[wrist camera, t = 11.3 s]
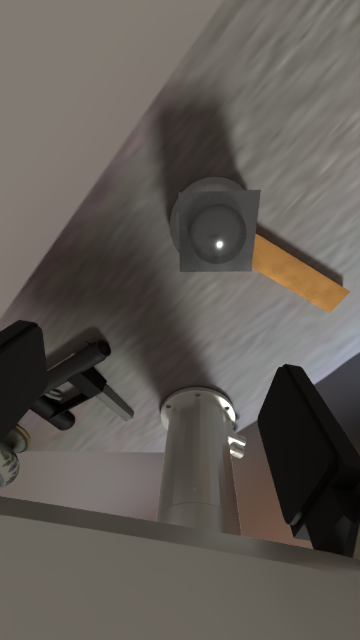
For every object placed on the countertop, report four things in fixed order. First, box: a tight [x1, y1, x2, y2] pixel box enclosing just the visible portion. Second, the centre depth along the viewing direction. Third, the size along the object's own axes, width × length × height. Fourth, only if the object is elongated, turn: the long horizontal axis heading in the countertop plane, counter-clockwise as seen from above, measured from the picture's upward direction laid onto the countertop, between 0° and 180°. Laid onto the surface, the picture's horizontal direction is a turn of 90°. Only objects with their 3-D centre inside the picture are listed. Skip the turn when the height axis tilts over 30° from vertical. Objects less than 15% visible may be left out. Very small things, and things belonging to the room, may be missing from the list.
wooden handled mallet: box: [170, 177, 350, 313], centre depth 26 cm, size 22×9×5 cm, turn 62°
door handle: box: [30, 340, 134, 430], centre depth 39 cm, size 3×20×16 cm
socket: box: [178, 190, 261, 272], centre depth 22 cm, size 6×6×8 cm
